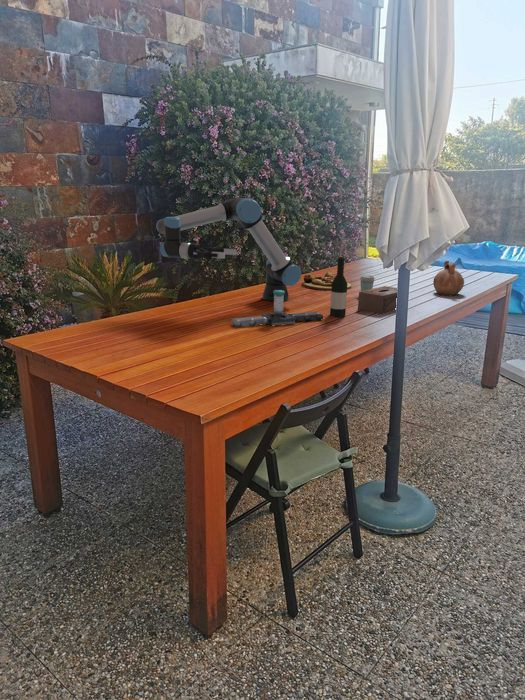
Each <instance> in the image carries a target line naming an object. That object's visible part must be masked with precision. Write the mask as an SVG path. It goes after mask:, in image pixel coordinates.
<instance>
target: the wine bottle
mask: <svg viewBox="0 0 525 700" xmlns="http://www.w3.org/2000/svg"><path fill="white" fill-rule="evenodd" d="M344 267H345V258H344V256H342V255H339V256H338V257H337V268H336V274H335V275H336V277H335V278H334V277H333V281H332V290H331V291H330V292H331V295H330V305H329V307H330V309H329V316H330V315H331V316H330V317H332V316H335V317H334V318H345V317H346V313H347V312H346V309H347V295H348V289H347V280H346V277H345V275H344V272H345V271H344V270H345V268H344ZM344 316H345V317H344Z"/></svg>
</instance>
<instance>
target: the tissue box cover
mask: <svg viewBox="0 0 525 700" xmlns="http://www.w3.org/2000/svg"><path fill="white" fill-rule="evenodd" d="M397 288H398V287H394V286H393V287H392V286H387V285H384V286H380V287H375V288H372V289H369V290H365V291H361V290H360V291H358V300H357V301H358V302H357V310H358V311H362V310H363V312H367V311H368V312H367V313H371V312H373V313H372V314H376V313H378V315H384V314H387V312H388V313H391V312H394V311H393V310H395V308H396V298H397ZM390 311H391V312H390ZM395 311H396V310H395ZM383 313H384V314H383Z"/></svg>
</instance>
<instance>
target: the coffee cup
mask: <svg viewBox="0 0 525 700" xmlns="http://www.w3.org/2000/svg"><path fill="white" fill-rule="evenodd" d="M359 280H360V291H365V290H369V289H374V288H373V287H374V283H375V276H373V275H367V274H366V275H361V276H360V277H359Z"/></svg>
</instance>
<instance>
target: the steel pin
mask: <svg viewBox="0 0 525 700" xmlns="http://www.w3.org/2000/svg"><path fill="white" fill-rule="evenodd" d="M273 294H274V301H273V313H274V318H283V313H284V302H285V301H284V294H285V291H283V290H274V291H273Z"/></svg>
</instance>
